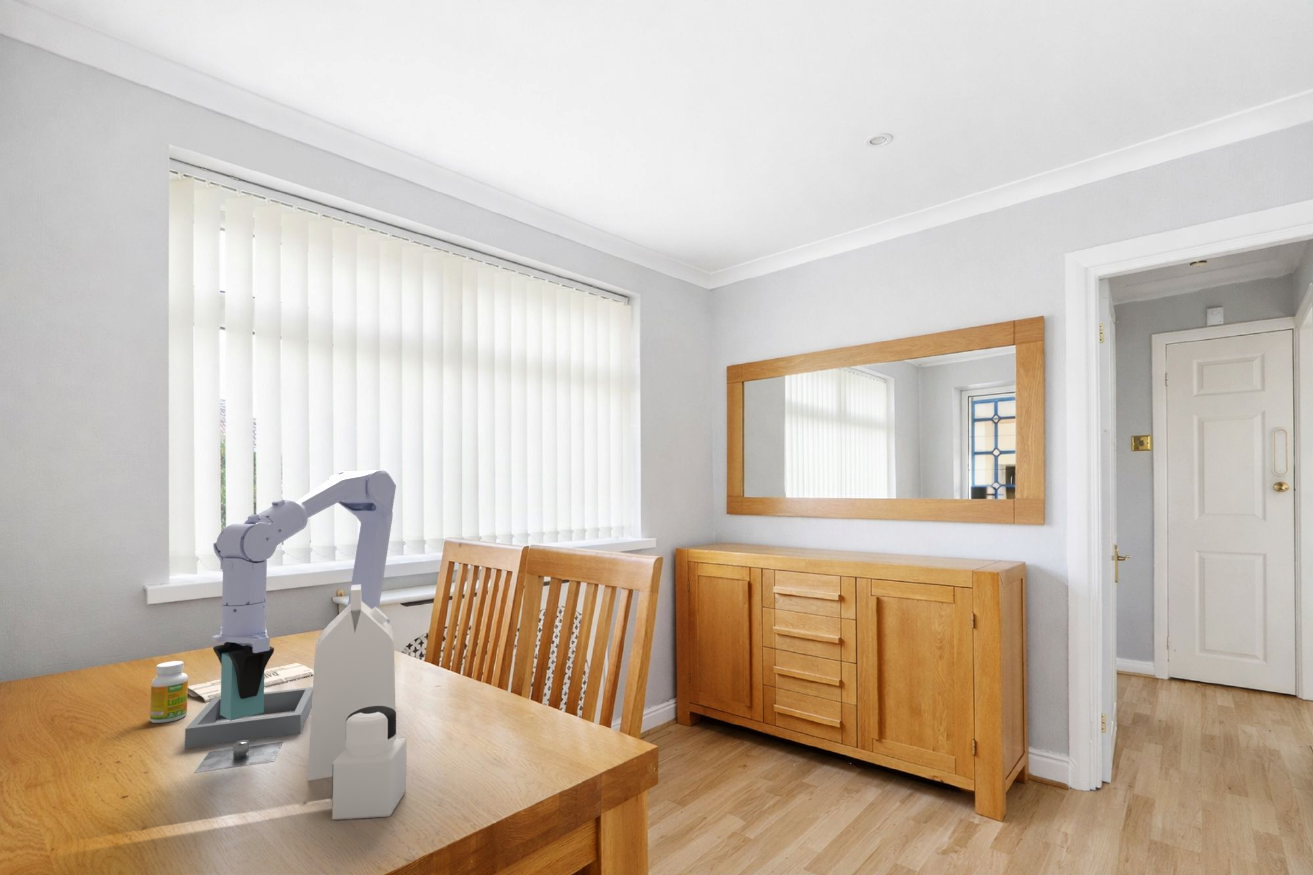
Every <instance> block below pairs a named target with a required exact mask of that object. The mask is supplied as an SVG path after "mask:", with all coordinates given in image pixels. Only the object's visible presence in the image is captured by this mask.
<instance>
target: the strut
mask: <svg viewBox="0 0 1313 875" xmlns="http://www.w3.org/2000/svg"><path fill="white" fill-rule="evenodd" d="M220 666H221V665H220ZM220 670H221V672H220V673H221V676H220V679H221V706H220V715H222V716H224V717H225V718H227V719H226V720H228V721H234V720H241V719H245V718H247V716H248V717H252V716H251V715H255V714H259V713H263V712H264V692H265V688H264V673H263V676H262V680H261V683H260V687H259V691H258V694H257V696H253V697H249V698H245V699H241V698H240V695H239V691H238V683H237V675H236V671H235V668H234V665H233V662H232V660H231V659H230V657H229V655H228V652H227V653H222V666H221V669H220Z"/></svg>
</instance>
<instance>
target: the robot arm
mask: <svg viewBox="0 0 1313 875" xmlns="http://www.w3.org/2000/svg"><path fill="white" fill-rule="evenodd" d="M396 487H397V484H396V483H395V482H394V480H393V478H392V476H391V475H390V474H389V473H388V472H387V471H386V470H384V469H383V470H382V469H378V470H377V469H376V470H367V471H365V470H361V471H350V470H349V471H348V470H342V471H339V472H338V473H337V474H334V475H331V476H329V477H328V479H327V480H326V481H325V482H323V483H322V484H320V485H319V486H317V487H316V488H314V489H313V490H311V491H309V492H308V493H306V494H305V495H303V496H302V497H300V498H299V499H297V500H296V501H294V500H292V499H276V500H274V501H273V502H271V506H270V507H269V508H267V509H265V510H263V511H262V512H259V513H258V514H251V515H249V516H248V517H247V520H245V522H243V523H232V524H230V525H227V526H226V527H224V528H223V529H222V530H221V532H220V533H219V534H218V536H217V539H216V542H214V543H213V544H212V545H213V551H214V553H215V555H216V557H217V558H218V559H219V561H220V570H222V595H221V601H222V602H221V605H222V606H221V626H220V627H219V634H217V635H212V636H211V640H212V641H211V642H214V643H221V642H223V644H220V645H216V646H215V645H214V646H213V648H212V649H213V650H212V651H213V652H214V653H215V655H216V656H217V658H218V660H219V663H220V666H222V653H227V652H228V655H229V657H230V659H231V660H232V662H233V665H234V668H235V671H236V675H237V683H238V691H239V695H240V698H241V699H245V698H249V697H253V696H257V694H258V691H259V687H260V683H261V680H262V676H263V673H264V670H266V668H267V666H268V665H267V664H268V662H269V661H270V659H271V657H272V656H273V655H274V652H275V647H273V646H271V643H270V642H271V637H270V636H268V629H267V628H266V627H267V626H266V621H267V620H266V619H267V618H266V617H267V616H266V614H267V573H268V572H267V571H268V568H267V567H268V560H269V559H270V558H271V557H272V556H274V553H275V551H276V549H277V547H278V545H281V543H283V542H284V541H286V540H288V539H290V538H292V537H293V536H294V535H296V534H298V533H299V532H301V531H303V530H304V529H305V528H306V526H307V524H308V520H309V518H311V517H313V516H314V515H316V514H318V513H320V512H322V511H324V510H326V509H329V508H330V507H332V506H333V505H336V504H337V503H338V504H339V505H340V506H342V508H344V509H345V510H347V511H348V512H349V513H351V514H352V515H353V516H355V517H356V518H357V519H358V521H359V523H360V528H359V535H358V540H357V546H356V553H355V557H354V558H355V559H354V565H353V570H352V576H351V577H352V578H351V582H350V583H351V584H350V587H351V586H352V585H359V584H361V596H362V602H364V603H365V604H366V605H367V606H368V607H370V608H371V609H373V608H374V607H377V608H378V609H379V610H380V611H381V612H382V613H383V614H384V615H385V616H386V617H387V618H388V619H387V620H386V622H387V623H388V624H389V625H390V619H389V617H388V616H387V615H386V614H385V613H384V612H383V611H382V610H381V608H380V604H381V597H382V591H383V590H382V589H383V585H384V584H383V583H384V576H385V571H386V564H387V558H388V556H387V555H388V549H389V543H390V535H391V532H392V523H393V513H394V512H393V508H394V502H395V495H396V490H397V488H396ZM350 603H351V588H350V590H349V595H348V602H347V606H348V605H349V604H350Z"/></svg>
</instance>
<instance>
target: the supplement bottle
mask: <svg viewBox="0 0 1313 875" xmlns="http://www.w3.org/2000/svg"><path fill="white" fill-rule="evenodd" d="M184 664H185V663H184V661H182V660H172V661H165V662H162V663H159V664H157V665H156V669H155V670H156V671H155V672H156V674H157V676H156V677H154V678H153V679H152V680H151V684H150V712H149V713H150V714H149V721H150V722H151V723H152V724H165V723H172V722H175V721H179V720H181V719H183V718H185V717H186V716H187V714H188V695H189V694H188V686H189V685H188V684H189V676H188V675H187V673H184V672H183V670H184V666H185V665H184Z"/></svg>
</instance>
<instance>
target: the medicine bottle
mask: <svg viewBox="0 0 1313 875" xmlns="http://www.w3.org/2000/svg"><path fill="white" fill-rule="evenodd" d="M331 788H332V789H331V792H332V793H331V818H332V820H333V821H337V820H354V819H371V818H387V817H388V818H389V817H391V815H392V814H393V812H394V810H395V809H396V807H397V806H398V804H399V803H400V801H401V800H402V798H403V796H404V795H405V793H406V791H407V738H405V737H401V738H400V737H399V738H398V737H397V711H395V710H394V709H392V708H389V707H386V706H371V707H366V708H362V709H359V710H357V711H355V712H353V713H351V714H350V715H349V716H348V717H347V719H346V749H345V750H344V751H343V752H342V753H341V754H340V755H339V757H338V758H337V759H336V760H335V761H334V762H333V774H332V787H331Z"/></svg>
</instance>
